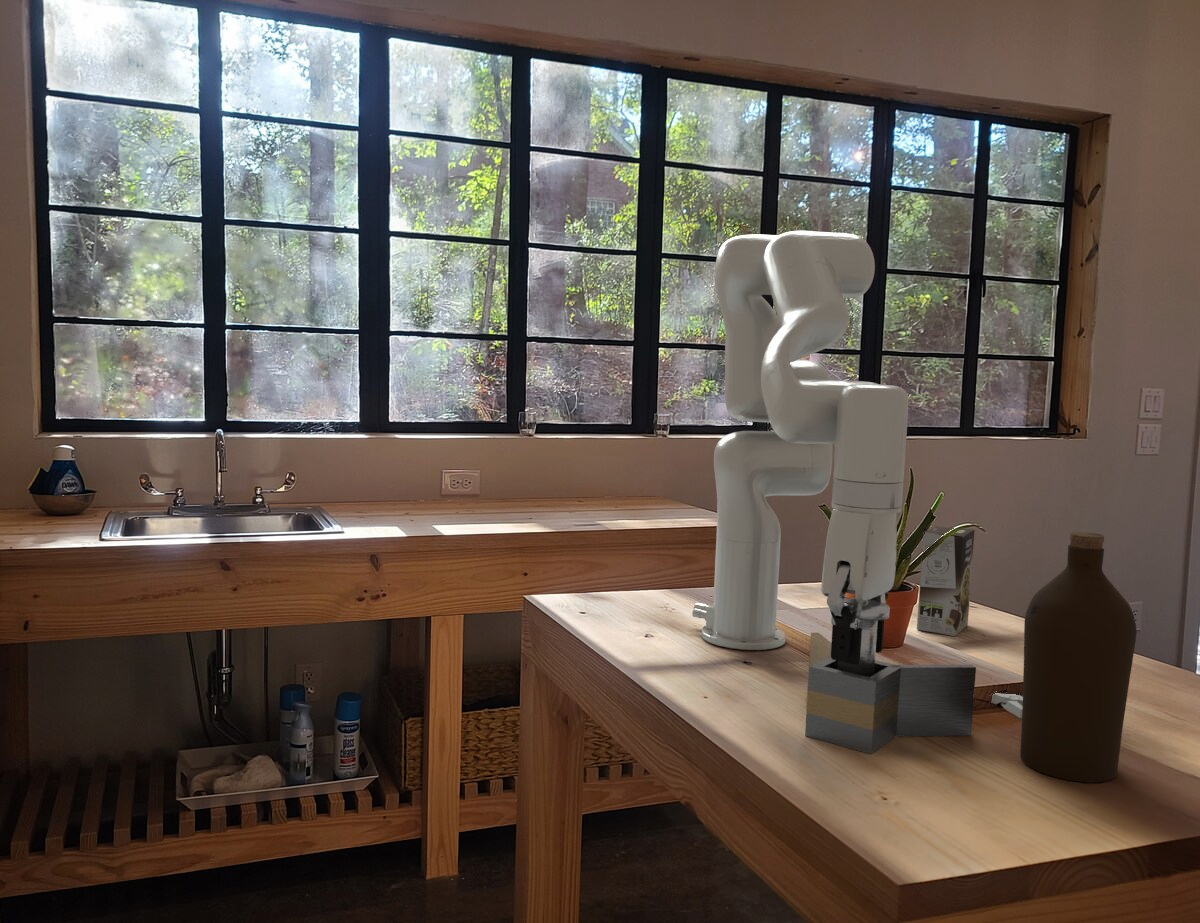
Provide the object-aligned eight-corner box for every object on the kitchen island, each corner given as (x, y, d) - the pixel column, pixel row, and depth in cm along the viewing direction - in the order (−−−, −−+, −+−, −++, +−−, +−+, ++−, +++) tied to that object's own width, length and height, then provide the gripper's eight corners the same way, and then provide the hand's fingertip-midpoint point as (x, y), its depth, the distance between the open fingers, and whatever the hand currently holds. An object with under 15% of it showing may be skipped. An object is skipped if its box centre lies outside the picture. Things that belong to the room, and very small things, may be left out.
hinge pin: (816, 678, 112) (821, 604, 111) (840, 666, 117) (845, 595, 116) (870, 691, 108) (876, 614, 107) (893, 678, 113) (898, 605, 112)
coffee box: (956, 637, 157) (964, 536, 155) (915, 630, 160) (922, 531, 159) (969, 625, 164) (976, 528, 163) (929, 619, 168) (936, 524, 166)
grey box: (755, 721, 116) (758, 654, 115) (809, 692, 127) (813, 631, 126) (929, 770, 103) (934, 695, 103) (972, 733, 115) (978, 666, 114)
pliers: (995, 669, 136) (1069, 706, 122) (994, 680, 136) (1068, 719, 122) (930, 671, 134) (998, 710, 119) (929, 683, 134) (997, 723, 120)
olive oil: (1084, 794, 99) (1106, 546, 97) (993, 756, 108) (1010, 528, 105) (1144, 774, 105) (1166, 539, 102) (1052, 740, 114) (1070, 523, 111)
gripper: (866, 486, 119) (856, 634, 121) (800, 499, 106) (791, 665, 107) (928, 493, 115) (917, 647, 116) (867, 507, 101) (856, 680, 103)
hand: (856, 654), depth 112 cm, fingers open, 5 cm apart
